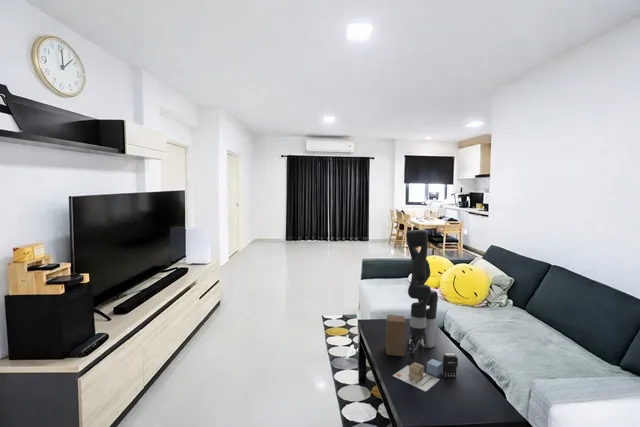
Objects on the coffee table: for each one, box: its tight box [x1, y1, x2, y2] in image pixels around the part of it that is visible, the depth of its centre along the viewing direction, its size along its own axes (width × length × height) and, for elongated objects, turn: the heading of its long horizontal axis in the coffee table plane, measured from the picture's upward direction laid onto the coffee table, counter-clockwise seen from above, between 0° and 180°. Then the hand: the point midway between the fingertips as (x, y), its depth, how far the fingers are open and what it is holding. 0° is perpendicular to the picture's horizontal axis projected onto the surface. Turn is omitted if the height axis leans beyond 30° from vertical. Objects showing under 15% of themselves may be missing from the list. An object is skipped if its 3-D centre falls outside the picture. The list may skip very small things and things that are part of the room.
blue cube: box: [426, 358, 442, 378], centre depth 175 cm, size 6×6×6 cm
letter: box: [392, 365, 440, 392], centre depth 170 cm, size 14×18×1 cm
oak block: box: [408, 361, 424, 381], centre depth 170 cm, size 5×5×6 cm
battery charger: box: [441, 353, 459, 379], centre depth 171 cm, size 7×4×11 cm, turn 88°
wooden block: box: [385, 314, 406, 357], centre depth 196 cm, size 10×10×20 cm
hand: (416, 356), depth 169 cm, fingers open, 8 cm apart
